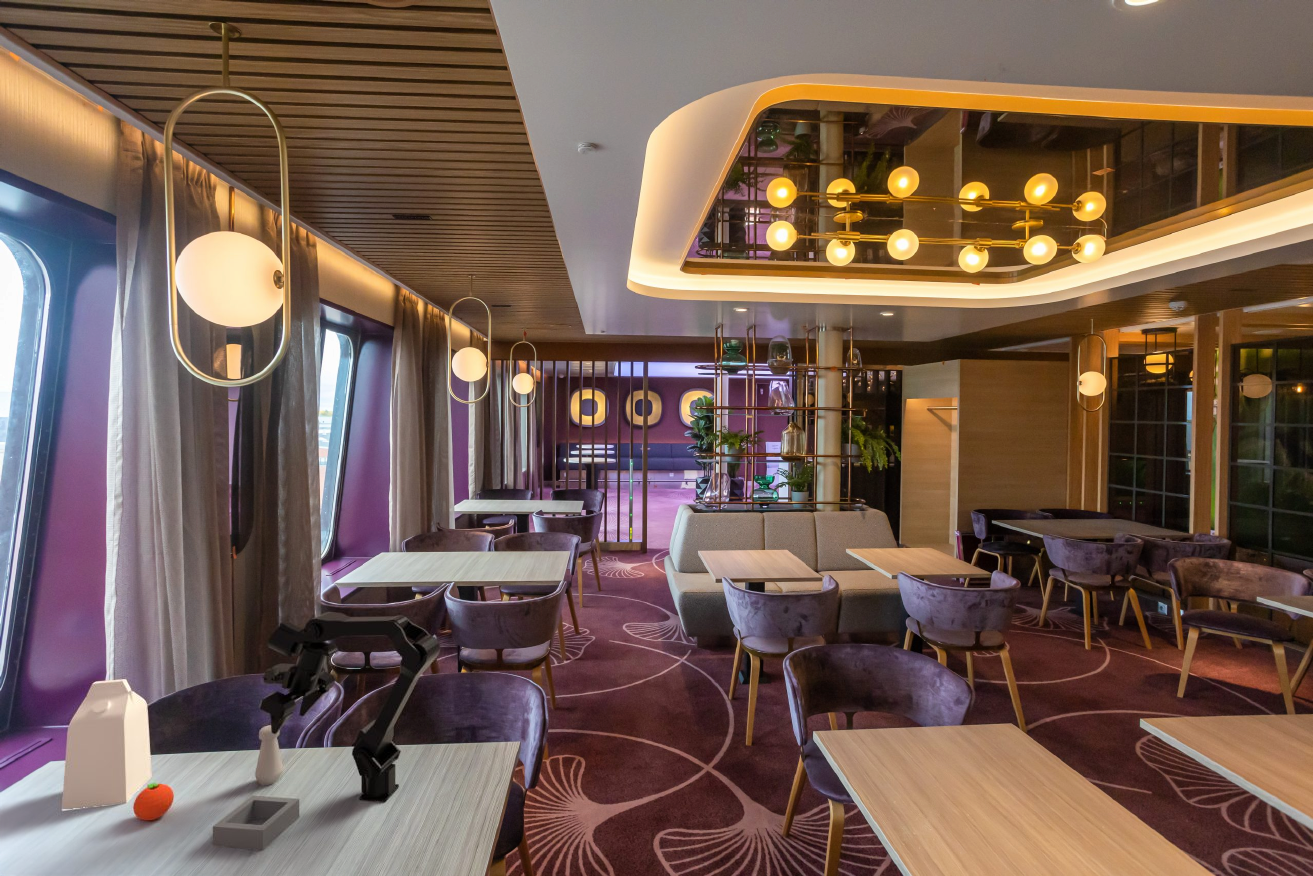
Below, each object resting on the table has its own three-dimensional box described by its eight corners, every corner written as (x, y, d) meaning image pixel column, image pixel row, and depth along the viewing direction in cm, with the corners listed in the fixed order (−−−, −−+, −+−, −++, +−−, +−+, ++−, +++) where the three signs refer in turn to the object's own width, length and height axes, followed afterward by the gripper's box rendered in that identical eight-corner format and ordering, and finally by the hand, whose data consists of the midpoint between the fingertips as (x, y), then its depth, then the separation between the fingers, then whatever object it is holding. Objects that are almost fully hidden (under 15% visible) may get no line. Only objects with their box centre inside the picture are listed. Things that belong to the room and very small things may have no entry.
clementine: (127, 817, 137) (127, 785, 137) (166, 802, 143) (166, 771, 143) (138, 832, 133) (138, 798, 133) (178, 816, 138) (178, 783, 138)
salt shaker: (288, 775, 155) (288, 722, 155) (272, 788, 149) (272, 733, 149) (266, 773, 155) (266, 721, 155) (249, 786, 150) (249, 732, 150)
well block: (299, 817, 138) (299, 799, 138) (263, 850, 127) (263, 830, 127) (252, 813, 139) (252, 795, 139) (212, 846, 128) (212, 826, 128)
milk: (151, 776, 154) (152, 670, 154) (126, 803, 143) (126, 688, 142) (92, 783, 150) (92, 674, 150) (61, 811, 139) (61, 694, 139)
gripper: (307, 638, 160) (287, 694, 161) (250, 664, 141) (228, 728, 142) (345, 656, 158) (324, 712, 159) (293, 685, 140) (270, 749, 141)
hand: (288, 724), depth 150 cm, fingers open, 9 cm apart
